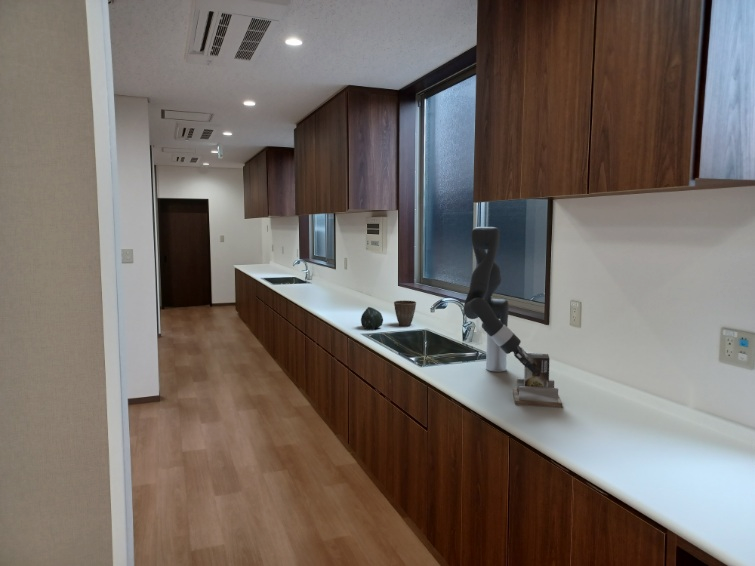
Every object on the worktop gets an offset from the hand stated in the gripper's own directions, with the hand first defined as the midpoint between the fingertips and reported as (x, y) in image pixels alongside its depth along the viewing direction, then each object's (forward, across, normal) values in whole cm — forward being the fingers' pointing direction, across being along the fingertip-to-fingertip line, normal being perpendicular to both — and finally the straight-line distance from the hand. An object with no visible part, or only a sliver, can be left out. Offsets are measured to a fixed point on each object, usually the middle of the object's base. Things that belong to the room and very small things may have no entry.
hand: (535, 369), depth 200 cm
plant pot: (-40, +140, +58) cm, 157 cm away
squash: (-54, +127, +72) cm, 156 cm away
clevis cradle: (+9, 0, +8) cm, 12 cm away
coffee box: (+8, 0, +7) cm, 11 cm away
